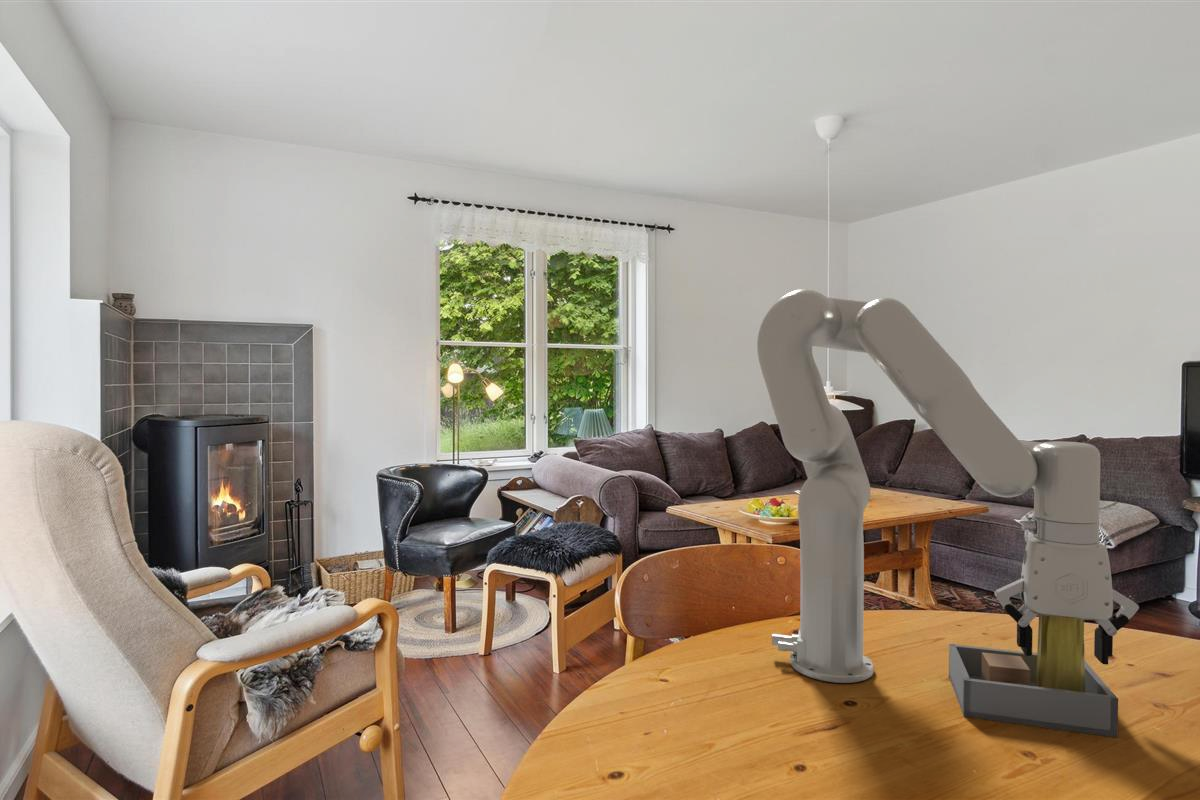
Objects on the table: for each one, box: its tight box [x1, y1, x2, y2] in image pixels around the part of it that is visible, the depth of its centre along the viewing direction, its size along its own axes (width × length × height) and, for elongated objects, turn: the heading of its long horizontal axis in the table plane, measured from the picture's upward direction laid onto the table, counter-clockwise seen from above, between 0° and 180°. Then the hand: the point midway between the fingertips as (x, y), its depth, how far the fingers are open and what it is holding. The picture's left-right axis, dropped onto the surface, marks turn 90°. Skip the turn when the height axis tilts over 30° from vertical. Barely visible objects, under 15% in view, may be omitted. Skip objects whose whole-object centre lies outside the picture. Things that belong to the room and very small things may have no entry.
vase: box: [1036, 615, 1086, 693], centre depth 97 cm, size 6×6×14 cm
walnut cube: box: [981, 652, 1030, 686], centre depth 99 cm, size 5×5×5 cm
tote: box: [948, 643, 1119, 738], centre depth 98 cm, size 18×14×5 cm
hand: (1063, 656), depth 97 cm, fingers open, 8 cm apart
